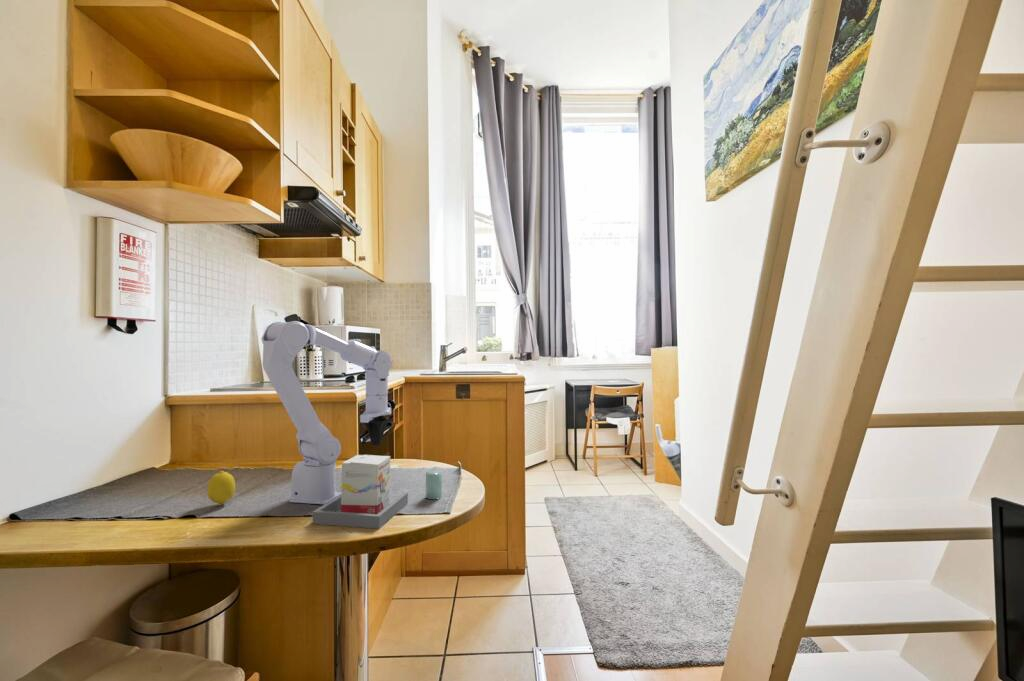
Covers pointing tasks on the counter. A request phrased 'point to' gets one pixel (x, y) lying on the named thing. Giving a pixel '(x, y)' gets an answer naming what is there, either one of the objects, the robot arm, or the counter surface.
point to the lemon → (221, 487)
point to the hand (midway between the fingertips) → (376, 444)
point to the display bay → (356, 514)
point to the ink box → (365, 484)
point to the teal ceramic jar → (433, 484)
